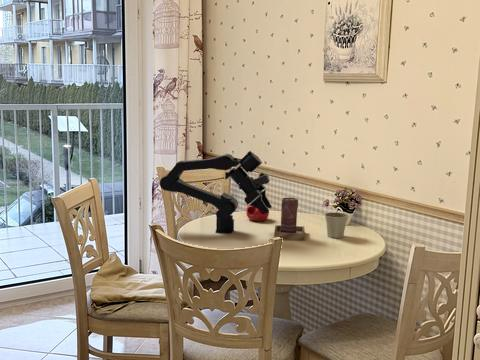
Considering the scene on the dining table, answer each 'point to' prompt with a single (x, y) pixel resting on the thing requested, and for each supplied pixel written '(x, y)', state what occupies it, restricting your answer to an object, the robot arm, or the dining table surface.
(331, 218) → the flower pot
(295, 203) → the can
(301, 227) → the tray
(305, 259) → the dining table surface
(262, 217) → the pomegranate
